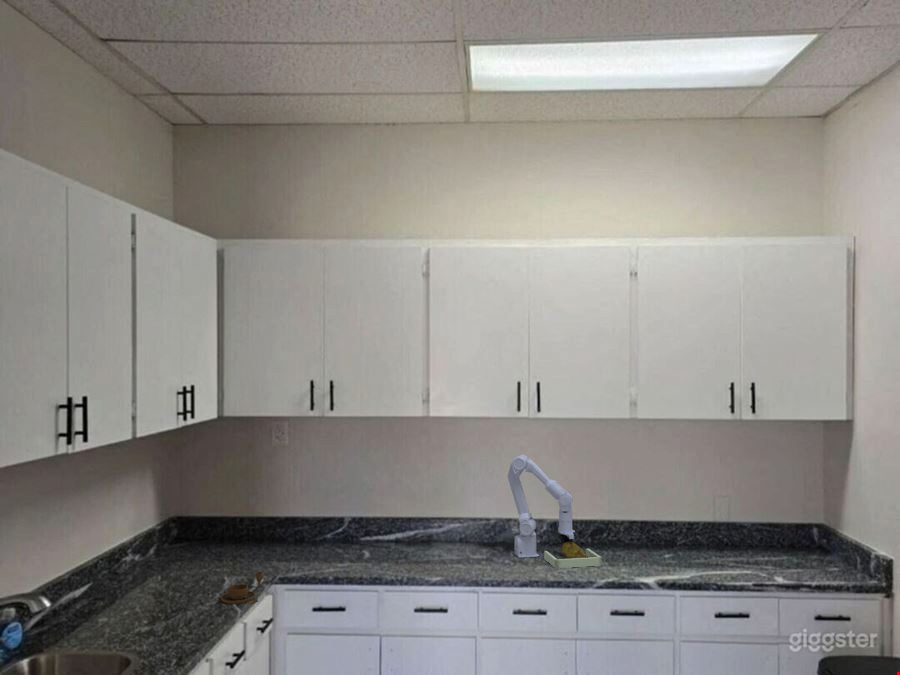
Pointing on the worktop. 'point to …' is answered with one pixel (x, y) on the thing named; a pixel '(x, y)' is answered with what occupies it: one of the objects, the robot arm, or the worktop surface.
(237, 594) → the place setting
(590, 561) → the pale green rail frame
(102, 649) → the worktop surface
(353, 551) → the worktop surface
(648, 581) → the worktop surface
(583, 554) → the potato
